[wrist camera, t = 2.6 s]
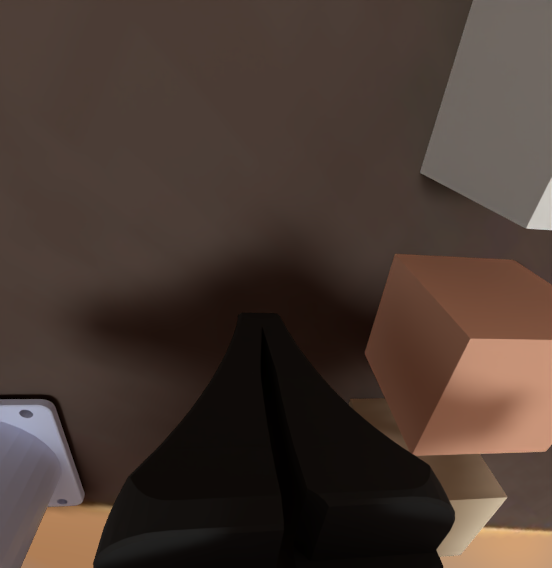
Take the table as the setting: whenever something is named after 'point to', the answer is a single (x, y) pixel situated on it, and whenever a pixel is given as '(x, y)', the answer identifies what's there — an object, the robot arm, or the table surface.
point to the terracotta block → (465, 355)
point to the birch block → (447, 480)
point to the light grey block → (499, 113)
